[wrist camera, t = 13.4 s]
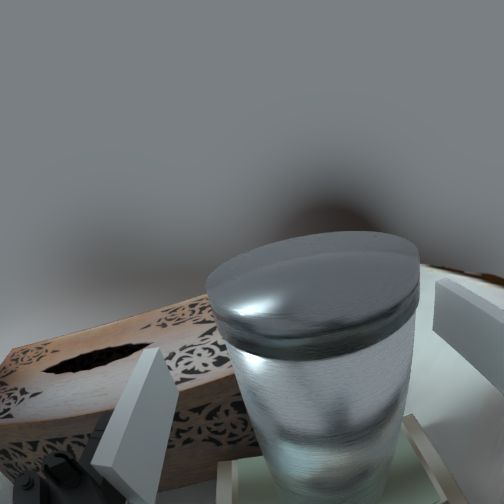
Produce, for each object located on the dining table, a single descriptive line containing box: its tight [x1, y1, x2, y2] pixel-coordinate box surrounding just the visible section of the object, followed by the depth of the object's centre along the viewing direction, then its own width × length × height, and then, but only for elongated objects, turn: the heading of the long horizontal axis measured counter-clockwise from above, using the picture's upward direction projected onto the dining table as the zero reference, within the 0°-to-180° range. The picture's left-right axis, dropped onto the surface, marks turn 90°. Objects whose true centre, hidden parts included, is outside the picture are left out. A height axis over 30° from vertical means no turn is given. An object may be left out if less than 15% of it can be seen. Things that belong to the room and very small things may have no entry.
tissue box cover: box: [0, 294, 263, 492], centre depth 21 cm, size 26×14×10 cm, turn 110°
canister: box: [206, 231, 420, 504], centre depth 10 cm, size 6×6×14 cm
